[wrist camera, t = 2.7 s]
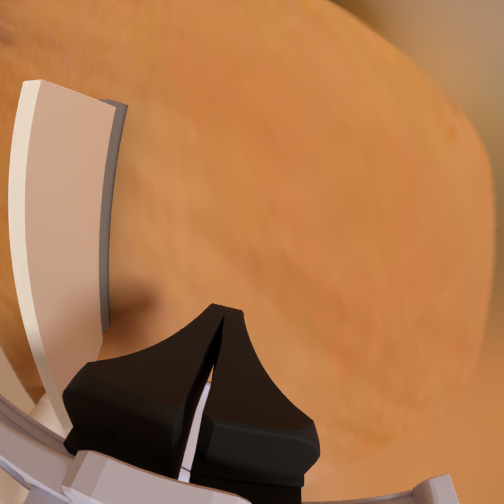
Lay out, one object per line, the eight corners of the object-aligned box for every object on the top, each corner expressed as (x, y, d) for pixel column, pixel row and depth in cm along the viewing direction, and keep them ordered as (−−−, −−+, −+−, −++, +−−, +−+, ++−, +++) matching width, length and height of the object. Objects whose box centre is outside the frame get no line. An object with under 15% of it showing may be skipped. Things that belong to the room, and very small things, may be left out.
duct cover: (94, 338, 19) (103, 340, 19) (63, 430, 11) (75, 433, 11) (104, 106, 13) (116, 107, 13) (23, 81, 5) (41, 79, 5)
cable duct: (110, 325, 22) (96, 342, 19) (40, 296, 22) (24, 307, 19) (127, 105, 16) (108, 99, 13) (44, 106, 16) (24, 104, 13)
